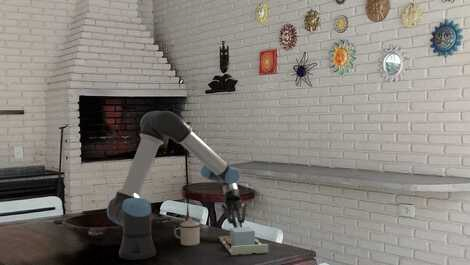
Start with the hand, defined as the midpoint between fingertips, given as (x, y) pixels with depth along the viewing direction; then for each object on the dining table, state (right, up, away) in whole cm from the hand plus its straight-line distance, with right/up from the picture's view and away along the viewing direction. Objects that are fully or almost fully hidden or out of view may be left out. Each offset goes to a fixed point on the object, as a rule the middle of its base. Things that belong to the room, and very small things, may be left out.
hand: (239, 235), depth 234 cm
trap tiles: (-1, -3, +3) cm, 4 cm away
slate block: (+1, -4, -7) cm, 8 cm away
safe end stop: (+4, -4, -20) cm, 21 cm away
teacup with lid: (-24, -4, -2) cm, 25 cm away
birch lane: (+1, -3, -7) cm, 8 cm away
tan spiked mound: (-28, -3, +35) cm, 45 cm away
